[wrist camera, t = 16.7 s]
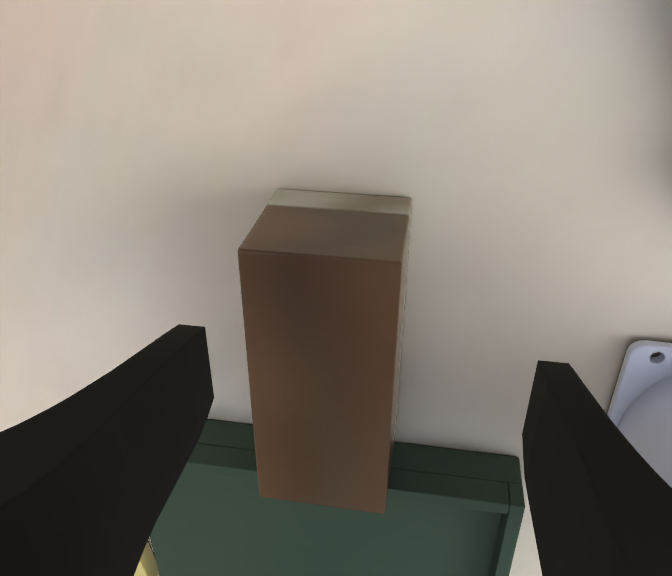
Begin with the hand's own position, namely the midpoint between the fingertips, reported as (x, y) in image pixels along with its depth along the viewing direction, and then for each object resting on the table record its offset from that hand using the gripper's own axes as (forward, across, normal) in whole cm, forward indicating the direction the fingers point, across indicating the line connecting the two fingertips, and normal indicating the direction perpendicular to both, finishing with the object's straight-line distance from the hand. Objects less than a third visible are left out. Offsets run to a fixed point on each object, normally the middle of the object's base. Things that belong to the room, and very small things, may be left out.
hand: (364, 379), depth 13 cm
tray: (+10, +3, +20) cm, 23 cm away
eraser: (+10, +2, +6) cm, 12 cm away
